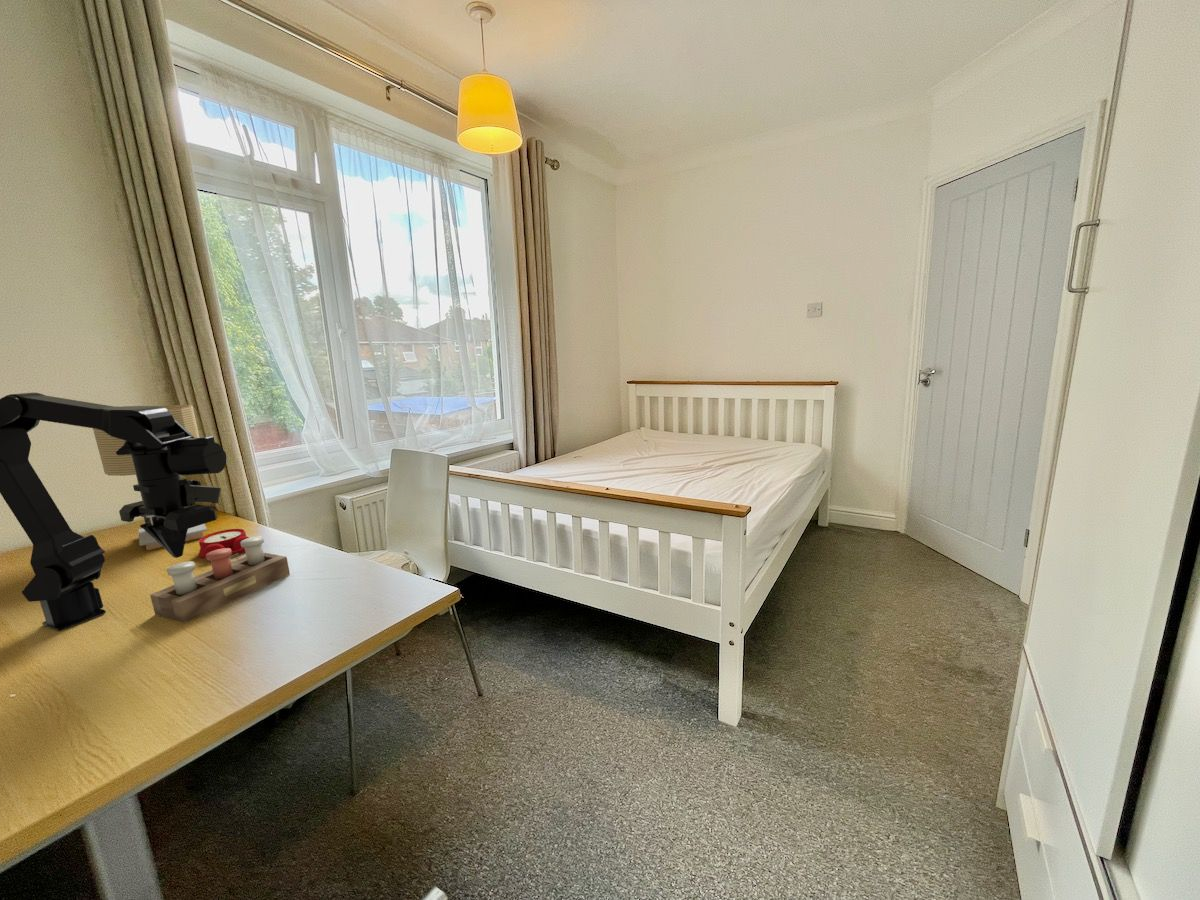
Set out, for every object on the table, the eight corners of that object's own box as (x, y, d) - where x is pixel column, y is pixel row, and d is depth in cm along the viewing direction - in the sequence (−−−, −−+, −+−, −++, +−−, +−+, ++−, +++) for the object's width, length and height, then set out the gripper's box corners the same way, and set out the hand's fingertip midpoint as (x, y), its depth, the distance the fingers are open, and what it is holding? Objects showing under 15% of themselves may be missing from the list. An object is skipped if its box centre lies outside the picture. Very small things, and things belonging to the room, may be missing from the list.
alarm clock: (241, 525, 127) (253, 525, 117) (247, 547, 127) (260, 549, 117) (191, 537, 119) (199, 538, 109) (197, 561, 120) (206, 565, 110)
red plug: (219, 581, 94) (213, 557, 93) (206, 578, 95) (201, 555, 94) (240, 572, 97) (235, 549, 96) (228, 569, 99) (223, 547, 98)
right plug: (253, 567, 100) (248, 544, 99) (240, 564, 101) (236, 542, 100) (271, 559, 103) (267, 537, 102) (259, 557, 105) (255, 535, 104)
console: (185, 623, 86) (179, 602, 86) (155, 614, 90) (149, 594, 89) (290, 574, 105) (287, 556, 104) (262, 568, 108) (258, 551, 107)
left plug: (180, 597, 88) (174, 572, 87) (168, 594, 89) (161, 569, 88) (205, 587, 92) (199, 563, 90) (192, 584, 93) (186, 560, 92)
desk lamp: (125, 538, 130) (91, 411, 123) (214, 519, 144) (189, 403, 136) (124, 559, 117) (86, 417, 109) (224, 535, 130) (196, 407, 123)
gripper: (239, 468, 90) (254, 545, 93) (180, 463, 96) (196, 535, 100) (169, 484, 80) (189, 570, 83) (108, 477, 86) (129, 557, 90)
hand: (178, 556), depth 89 cm, fingers closed
